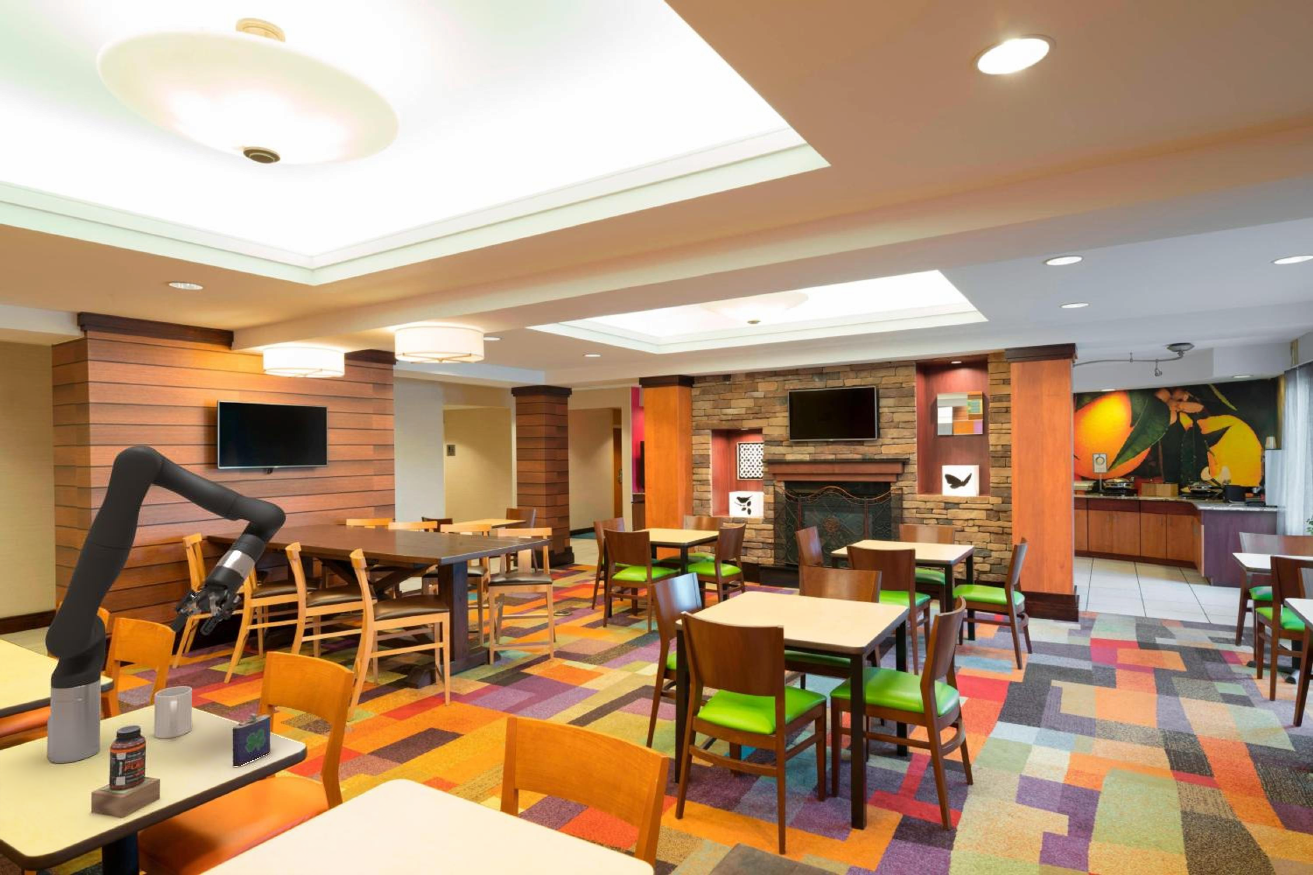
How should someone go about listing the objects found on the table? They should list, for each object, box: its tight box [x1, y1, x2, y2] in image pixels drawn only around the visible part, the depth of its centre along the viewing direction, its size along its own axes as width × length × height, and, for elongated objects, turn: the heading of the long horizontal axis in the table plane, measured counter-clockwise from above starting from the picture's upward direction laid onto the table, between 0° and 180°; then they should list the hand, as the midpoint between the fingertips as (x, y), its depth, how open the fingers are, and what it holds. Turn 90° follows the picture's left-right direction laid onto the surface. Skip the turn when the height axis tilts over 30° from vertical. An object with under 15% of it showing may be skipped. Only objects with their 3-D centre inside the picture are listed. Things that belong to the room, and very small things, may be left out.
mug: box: [153, 686, 193, 739], centre depth 179 cm, size 12×8×10 cm, turn 34°
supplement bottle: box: [108, 725, 147, 790], centre depth 145 cm, size 6×6×11 cm
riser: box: [90, 776, 161, 819], centre depth 145 cm, size 8×8×4 cm
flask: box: [231, 712, 271, 767], centre depth 166 cm, size 9×3×11 cm, turn 157°
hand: (188, 631), depth 163 cm, fingers open, 8 cm apart
